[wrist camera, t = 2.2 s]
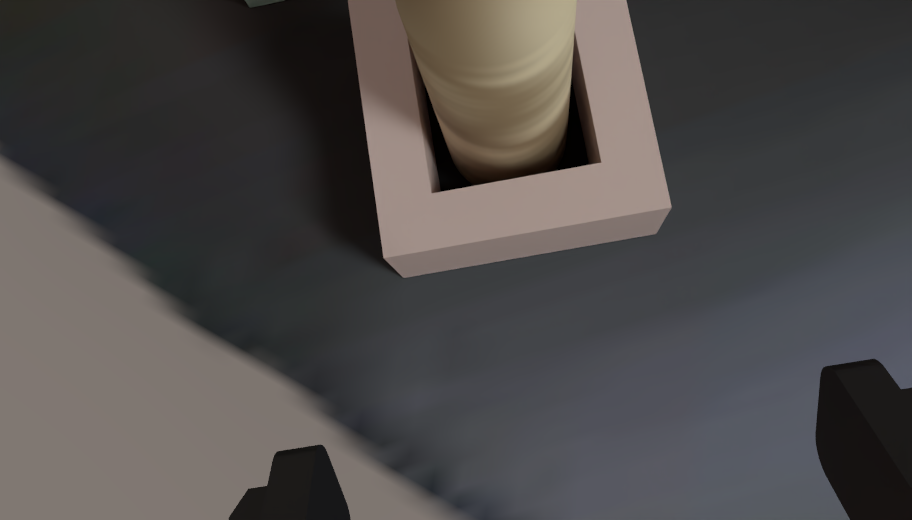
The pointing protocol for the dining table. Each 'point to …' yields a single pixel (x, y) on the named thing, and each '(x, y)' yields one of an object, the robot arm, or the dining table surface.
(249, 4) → the tray
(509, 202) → the socket block
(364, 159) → the dining table surface
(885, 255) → the dining table surface
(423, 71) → the dowel
